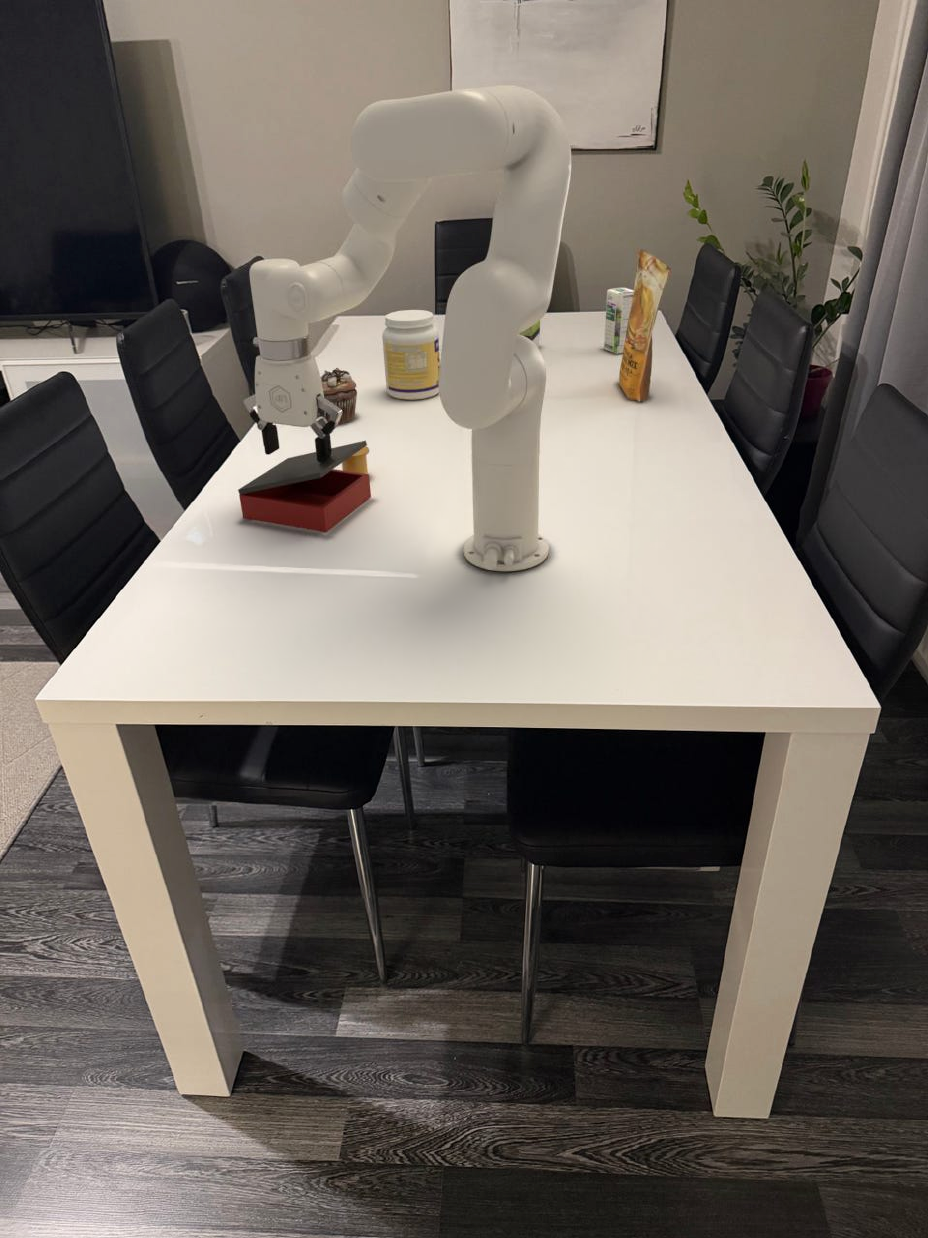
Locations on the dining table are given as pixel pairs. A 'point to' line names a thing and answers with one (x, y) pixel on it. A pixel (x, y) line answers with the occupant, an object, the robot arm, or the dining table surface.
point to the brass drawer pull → (357, 462)
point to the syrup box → (617, 318)
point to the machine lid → (301, 468)
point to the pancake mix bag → (642, 325)
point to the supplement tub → (411, 354)
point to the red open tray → (309, 501)
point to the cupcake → (340, 393)
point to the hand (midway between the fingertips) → (298, 455)
